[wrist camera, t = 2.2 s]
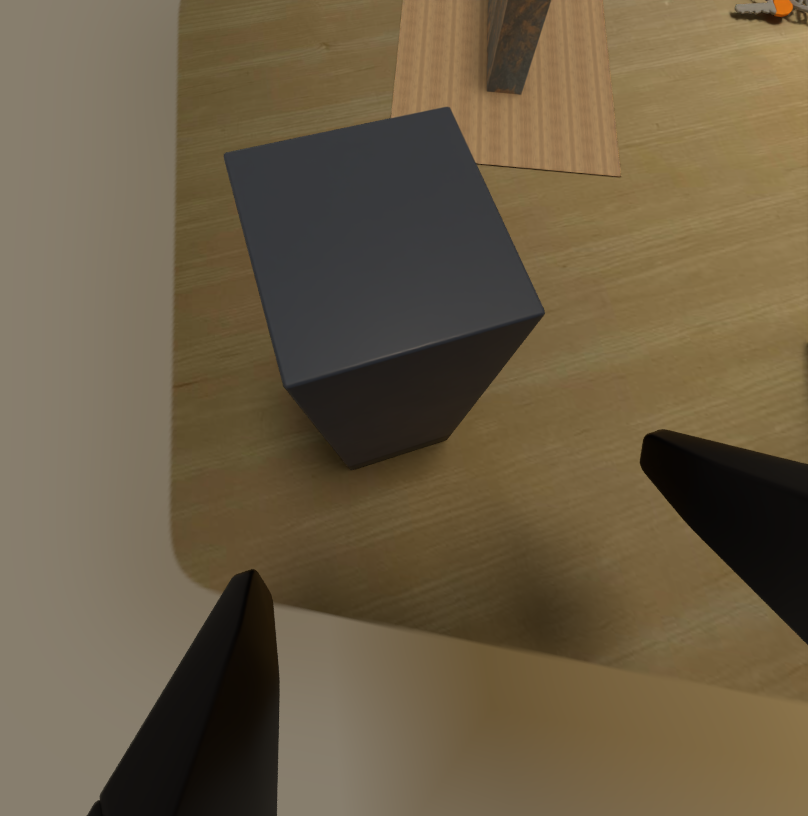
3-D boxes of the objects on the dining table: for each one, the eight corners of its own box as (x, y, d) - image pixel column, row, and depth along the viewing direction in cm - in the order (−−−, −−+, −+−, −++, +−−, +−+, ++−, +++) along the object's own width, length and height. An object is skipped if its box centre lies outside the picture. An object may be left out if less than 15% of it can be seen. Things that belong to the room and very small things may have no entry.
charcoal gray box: (447, 439, 22) (547, 313, 8) (350, 470, 21) (283, 389, 7) (392, 288, 24) (399, -4, 11) (303, 311, 23) (190, 32, 10)
